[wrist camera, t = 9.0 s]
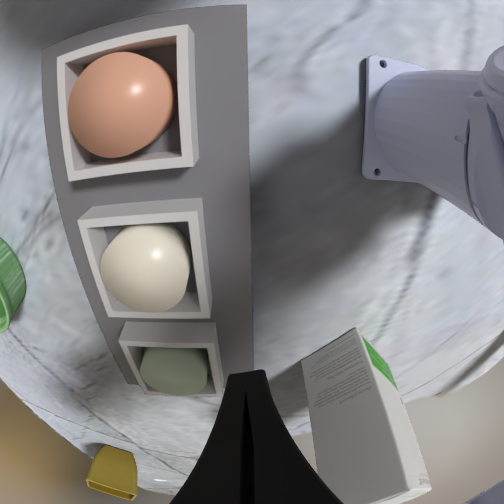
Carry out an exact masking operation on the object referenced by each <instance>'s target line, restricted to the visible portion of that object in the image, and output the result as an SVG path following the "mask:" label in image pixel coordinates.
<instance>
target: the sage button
mask: <svg viewBox="0 0 504 504" xmlns="http://www.w3.org/2000/svg"><path fill="white" fill-rule="evenodd" d="M207 369H208V352H207V350H206V349H205V348H166V347H146V350H145V353H144V357H143V360H142V364H141V367H140V374H141V377H142V378H143V380H144V381H145V382H146V383H147V384H148V385H149V386H151V387H152V388H154V389H156V390H158V391H160V392H163V393H166V394H170V395H175V396H188V395H193V394H196V393H198V392H200V391H202V390H203V389H204V388H205V386H206V382H207Z"/></svg>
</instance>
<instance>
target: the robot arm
mask: <svg viewBox="0 0 504 504" xmlns="http://www.w3.org/2000/svg"><path fill="white" fill-rule="evenodd" d="M380 61H382V62H383V63H384V67H383V68H382V67H381V66H380V64H379V63H380ZM377 168H378V170H379V172H378V174H376V175H374V171H375V169H377ZM361 171H362V175H363V176H364V177H365V178H367V179H371V180H388V181H402V182H415V183H420V184H422V185H424V186H425V187H427V188H428V189H430V190H432V191H433V192H435V193H437V194H438V195H440V196H441V197H443V198H444V199H446V200H447V201H449V202H450V203H452V204H454V205H455V206H456V207H458V208H459V209H461V210H462V211H464V212H465V213H467V214H468V215H470V216H471V217H472V218H474V219H475V220H476V221H478V222H479V223H481V224H482V225H483V226H485V227H486V228H487V229H489V230H490V231H491V232H492V233H494V234H495V235H496V236H498V237H500V238H501V239H503V242H504V46H502V47H500V48H498V49H497V50H495V51H494V52H493V53H492V54H491V55H490V56H489V58H488V60H487V62H486V65H485V67H484V69H483V70H482V71H468V70H431V69H427V68H424V67H421V66H417V65H414V64H410V63H407V62H403V61H399V60H395V59H391V58H387V57H382V56H378V55H371V56H368V58H367V59H366V109H365V130H364V146H363V159H362V170H361ZM170 504H344V503H343V502H342V501H341V500H340V499H339V498H338V497H337V496H336V495H335V494H334V493H333V492H332V491H331V490H330V489H329V488H328V486H327V485H326V484H325V483H324V482H323V481H322V479H321V478H320V477H319V476H318V474H317V473H316V472H315V471H314V469H313V468H312V467H311V466H310V464H309V463H308V461H307V460H306V459H305V457H304V456H303V454H302V453H301V451H300V450H299V448H298V447H297V445H296V444H295V442H294V440H293V439H292V437H291V435H290V434H289V432H288V430H287V428H286V427H285V425H284V423H283V421H282V419H281V417H280V415H279V413H278V410H277V408H276V406H275V404H274V401H273V399H272V396H271V392H270V388H269V384H268V380H267V377H266V373H265V371H264V370H262V369H261V370H255V371H248V372H242V373H234V374H230V375H229V376H228V378H227V383H226V388H225V392H224V396H223V399H222V403H221V406H220V409H219V412H218V415H217V418H216V421H215V424H214V426H213V429H212V431H211V434H210V436H209V438H208V441H207V443H206V445H205V447H204V450H203V452H202V454H201V456H200V458H199V460H198V461H197V463H196V465H195V467H194V469H193V470H192V472H191V474H190V475H189V477H188V479H187V480H186V482H185V483H184V485H183V486H182V488H181V489H180V490H179V492H178V493H177V494H176V496H175V497H174V498H173V500H172V501H171V503H170ZM463 504H504V480H502V481H501V482H499V483H497V484H496V485H494V486H493V487H491V488H490V489H488V490H486V491H483V492H482V493H480V494H478V495H476V496H475V497H473V498H472V499H470V500H468V501H466V502H465V503H463Z"/></svg>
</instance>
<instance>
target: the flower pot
mask: <svg viewBox="0 0 504 504" xmlns="http://www.w3.org/2000/svg"><path fill="white" fill-rule="evenodd" d="M86 481H87V485H88V487H91V488H93V489H96V490H99V491H102V492H104V493H108V494H111V495H114V496H117V497H121V498H125V499H128V500H133V499H134V498H135V497H136V496H137V466H136V462H135V459H134V457H133V455H132V453H130V452H127V451H123V450H120V449H117V448H114V447H111V446H109V445H104V446H103V447H102V448H101V449H100V450H99V451H98V452H97V453H96V455H95V457H94V459H93V461H92V463H91V466H90V469H89V472H88V474H87V477H86Z"/></svg>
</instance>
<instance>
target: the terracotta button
mask: <svg viewBox="0 0 504 504" xmlns="http://www.w3.org/2000/svg"><path fill="white" fill-rule="evenodd" d="M177 103H178V94H177V88H176V84H175V82H174V79H173V78H172V76H171V74H170V73H169V72H168V71H167V69H165V68H164V67H163V66H162V65H160V64H159V63H157V62H155V61H153V60H150V59H148V58H146V57H143V56H141V55H138V54H135V53H131V52H116V53H111V54H108V55H105V56H103V57H101V58H99V59H97V60H96V61H94V62H93V63H91V64H90V65H89V66H88V67H87V68H86V69H85V70H84V71H83V72H82V73H81V75H80V76H79V77H78V79H77V80H76V82H75V84H74V86H73V88H72V91H71V94H70V98H69V104H68V118H69V123H70V127H71V130H72V132H73V134H74V136H75V138H76V139H77V141H78V142H79V143H80V144H81V145H82V146H83V147H84V148H85V149H86V150H88V151H89V152H91V153H93V154H95V155H98V156H101V157H106V158H117V157H122V156H126V155H129V154H131V153H133V152H135V151H137V150H139V149H141V148H143V147H145V146H146V145H148V144H150V143H152V142H153V141H155V140H157V139H158V138H159V137H160V136H161V135H162V134H163V133H164V132H165V131H166V130H167V128H168V127H169V126H170V124H171V122H172V120H173V118H174V116H175V113H176V109H177Z"/></svg>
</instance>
